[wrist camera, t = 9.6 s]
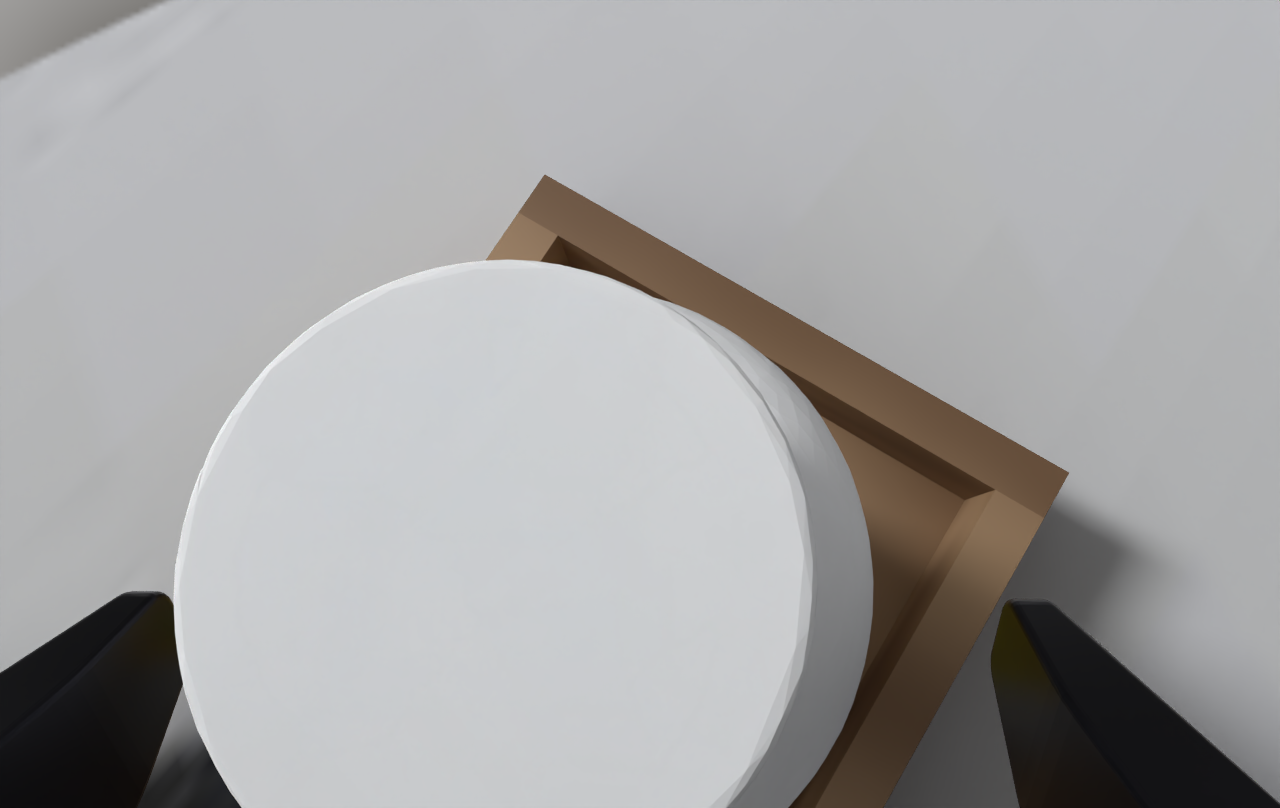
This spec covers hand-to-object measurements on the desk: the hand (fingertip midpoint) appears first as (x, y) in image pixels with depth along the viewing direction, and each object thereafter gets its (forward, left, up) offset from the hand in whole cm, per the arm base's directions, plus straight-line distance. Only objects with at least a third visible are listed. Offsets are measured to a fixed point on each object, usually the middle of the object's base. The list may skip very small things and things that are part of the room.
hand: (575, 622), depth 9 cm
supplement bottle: (0, 0, -10) cm, 9 cm away
